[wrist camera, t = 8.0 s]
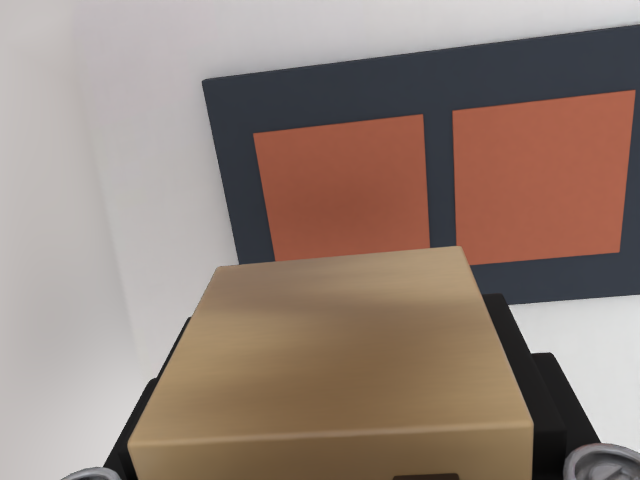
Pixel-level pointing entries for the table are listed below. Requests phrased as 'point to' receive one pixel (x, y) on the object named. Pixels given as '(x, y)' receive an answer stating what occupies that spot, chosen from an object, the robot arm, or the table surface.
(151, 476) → the letter h cube
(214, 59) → the table surface
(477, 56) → the mat
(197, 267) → the table surface
